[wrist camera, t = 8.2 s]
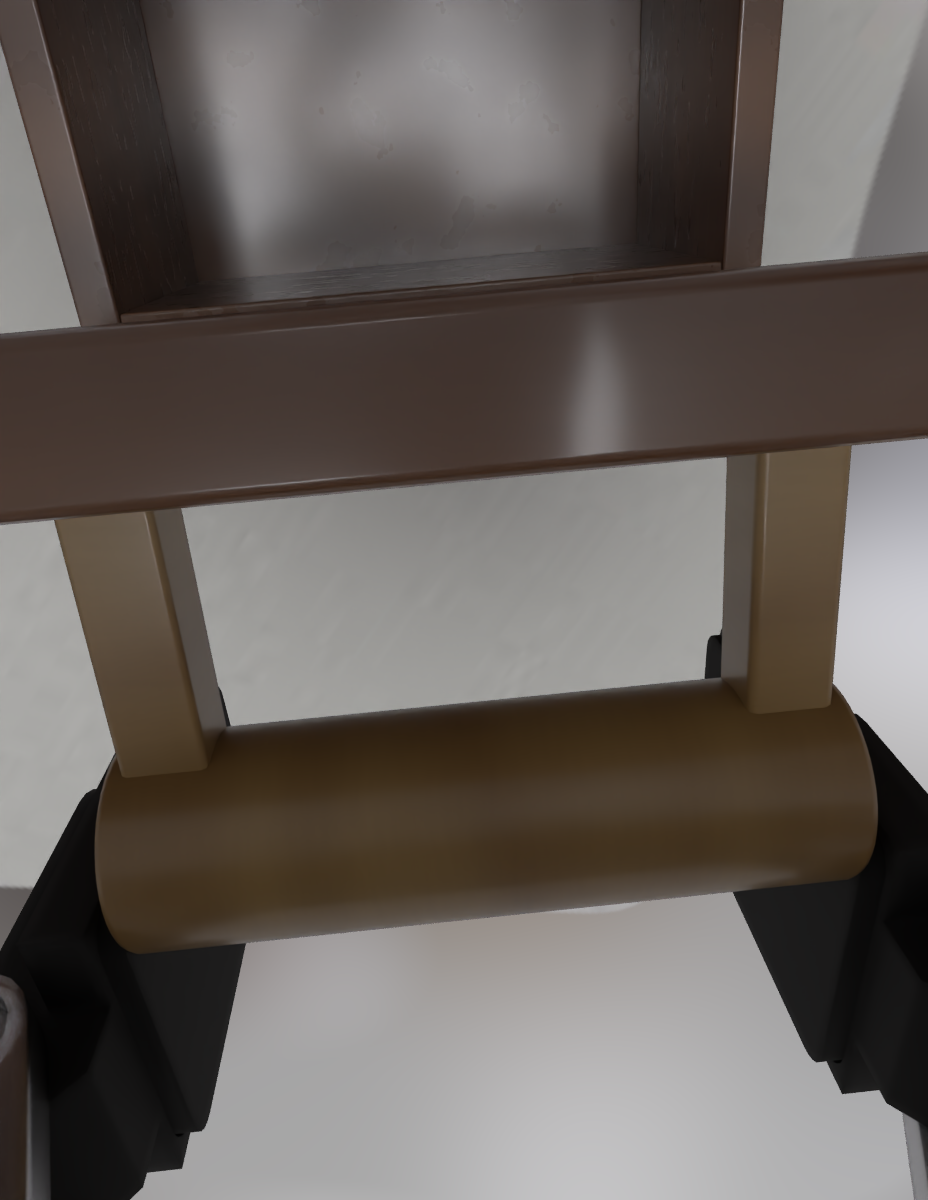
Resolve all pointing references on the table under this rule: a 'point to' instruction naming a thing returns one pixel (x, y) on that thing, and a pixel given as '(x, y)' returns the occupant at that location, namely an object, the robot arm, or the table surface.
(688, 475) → the table surface
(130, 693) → the lid
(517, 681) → the table surface
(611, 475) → the table surface
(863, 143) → the table surface
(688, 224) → the chest
